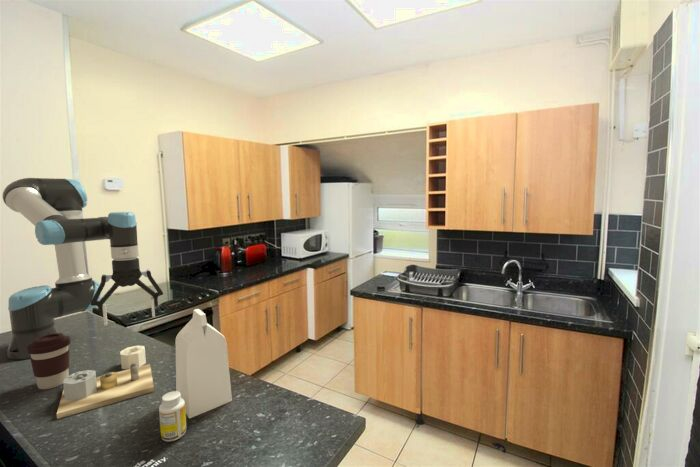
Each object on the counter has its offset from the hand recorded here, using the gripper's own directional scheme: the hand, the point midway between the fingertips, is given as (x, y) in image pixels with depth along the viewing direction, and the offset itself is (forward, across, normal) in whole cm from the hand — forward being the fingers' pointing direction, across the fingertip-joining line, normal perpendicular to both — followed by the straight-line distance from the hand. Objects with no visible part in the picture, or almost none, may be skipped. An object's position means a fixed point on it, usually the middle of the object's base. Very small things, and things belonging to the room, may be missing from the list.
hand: (130, 320), depth 113 cm
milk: (+16, +16, -35) cm, 42 cm away
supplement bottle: (+16, +7, -46) cm, 49 cm away
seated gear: (+14, -13, -14) cm, 24 cm away
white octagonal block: (+16, 0, 0) cm, 16 cm away
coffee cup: (+16, -21, 0) cm, 27 cm away
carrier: (+16, -7, -14) cm, 22 cm away
